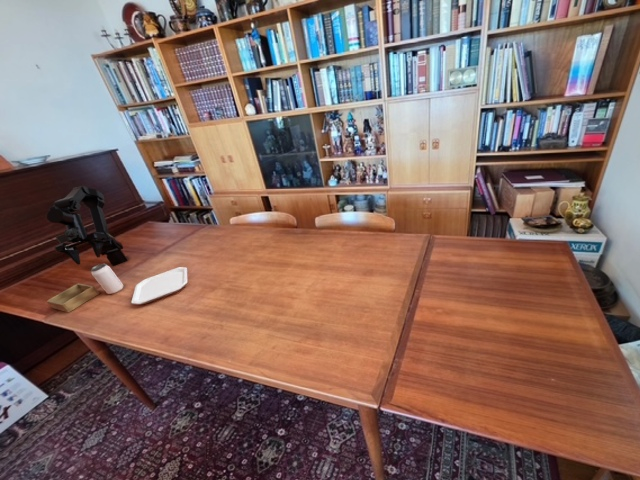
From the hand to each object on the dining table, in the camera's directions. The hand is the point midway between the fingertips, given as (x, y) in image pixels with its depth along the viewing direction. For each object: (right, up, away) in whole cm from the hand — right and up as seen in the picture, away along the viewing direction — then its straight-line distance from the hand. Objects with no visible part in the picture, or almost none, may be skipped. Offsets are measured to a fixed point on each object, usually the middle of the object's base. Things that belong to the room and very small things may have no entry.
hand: (88, 260), depth 129 cm
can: (+12, -13, 0) cm, 18 cm away
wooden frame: (-3, -17, -2) cm, 18 cm away
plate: (+36, -12, -5) cm, 38 cm away
